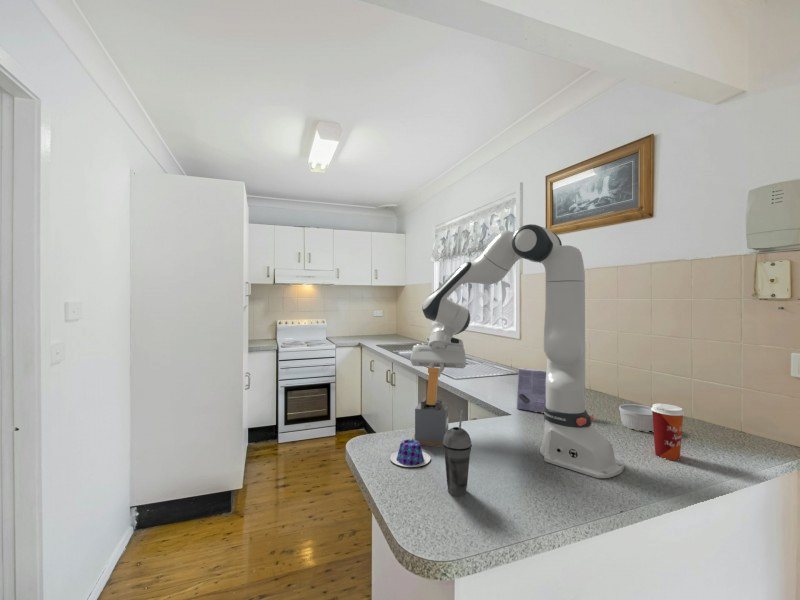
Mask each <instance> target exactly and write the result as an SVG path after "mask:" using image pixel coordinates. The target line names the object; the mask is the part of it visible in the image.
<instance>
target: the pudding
mask: <svg viewBox="0 0 800 600" xmlns="http://www.w3.org/2000/svg"><path fill="white" fill-rule="evenodd" d="M389 459H390V461H391V462H392V463H393V464H395V465H397V466H400V467H405V468H414V467H415V468H417V467H421V466H422V467H423V466H425V465H427V464H428V463H430V461H431V456H430V454H429V453H427V452H426V451H423V450H422V445H420V443H419V441H416V440H412V439H410V438H409V439H404V440H402V441H401V443H400V445H399V448H398V450H397V451H395V452H393V453H392V454H391V455H390V458H389ZM396 460H397V461H396Z"/></svg>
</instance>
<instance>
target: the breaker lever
mask: <svg viewBox="0 0 800 600" xmlns="http://www.w3.org/2000/svg"><path fill="white" fill-rule="evenodd" d="M439 368H440V367H434V368H430V367H428V368H427V373H428V380H427V392H426V393H427V394H426V398H427V402H426V407H429V408H436V402H437V400H438V399H437V398H438V395H437V394H438V385H439V384H438V383H439V377H438V374H439V373H440V369H439Z"/></svg>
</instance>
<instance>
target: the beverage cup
mask: <svg viewBox="0 0 800 600" xmlns="http://www.w3.org/2000/svg"><path fill="white" fill-rule="evenodd" d="M463 412H464V410H463V409H460V415H459V423H458V424H459V425H458V426H454V427H451V428H448V431H447V432H446V434H445V435H444V438H443V443H442V445H443V447H442V449H443V453H444V461H445V462H444V463H445V475H446V486H447V492H448V494H450V496H454V497H455V496H456V497H461V496H465V495H466V494H467V488H468V480H469V468H470V467H469V466H470V457H471V453H472V447H473V445H472V440H471V437H470V434H469V433H468V432H467V431H466V430H465V428H462V422H463Z"/></svg>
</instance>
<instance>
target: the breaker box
mask: <svg viewBox="0 0 800 600" xmlns="http://www.w3.org/2000/svg"><path fill="white" fill-rule="evenodd" d="M426 402H427V397H423V398H422V399H421V401H420V402H419V403H418V404H417V406H416V407H415V408H414V435H413V437H412V438H411V440H416V441H419V443H420V445H421V446H425V447H426V446H430V447H437V448H443V445H442V443H443V438H444V435H445V434H446V432H447V431H448V430H449V420H450V418H449V417H450V416H449V404H443V403H442V402H443V401H442V398H438V399H437V400H436V408H429V407H426Z"/></svg>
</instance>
